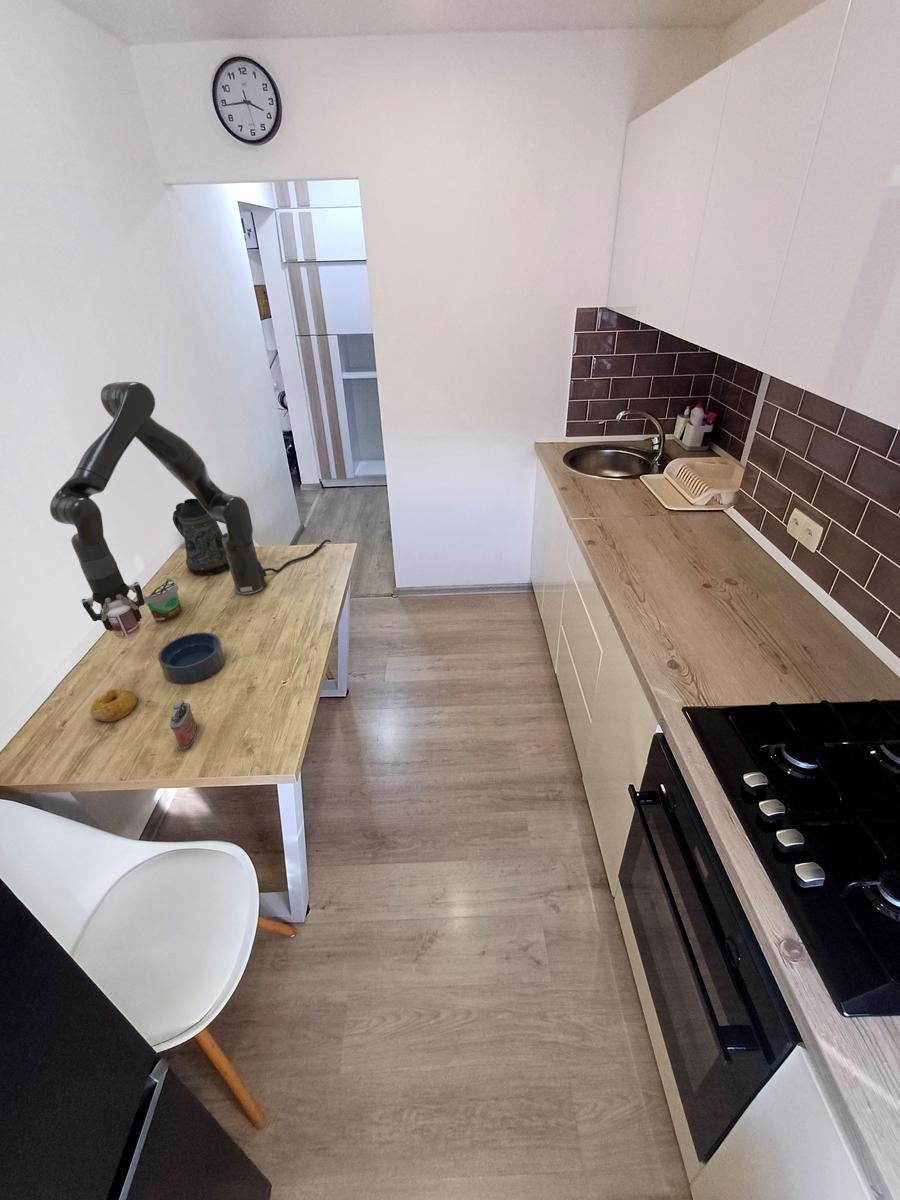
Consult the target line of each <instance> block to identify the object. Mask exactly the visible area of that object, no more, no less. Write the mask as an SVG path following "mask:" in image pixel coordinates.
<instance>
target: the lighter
mask: <svg viewBox="0 0 900 1200" xmlns="http://www.w3.org/2000/svg"><path fill="white" fill-rule="evenodd" d="M191 707H192V706H191V704H190V703H189V702H185V701H184V699H182V698H181V699H178V700H177V701H176V704H174V705H173V706H172V713H171V715H170V717H169V718H170V721H169V727H170V730H172V732H173V735H174V736H175V739H176V742H177V744H178V749H179V750H180V751H181V752H185V751H188V750H190V749H191V748H192V747H193V745H194V744H195V741H196V740H197V737H198V735H199V730H200V729H199V725H198V723H197V722H196V720H195V717H194V714H193V711H192V709H191Z"/></svg>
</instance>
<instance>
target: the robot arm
mask: <svg viewBox="0 0 900 1200" xmlns="http://www.w3.org/2000/svg"><path fill="white" fill-rule="evenodd" d="M100 401H101V404H102V406H103V408H104V410H105V411H106V413H107V414H108V415H109V416H111V418H112V419H113V420H112V421H111V423H110V424H109V425H108V427H107V429H105V430H104V431H103V432H102V433H101V435H99V437H98V438H96V439H95V440H94V441H93V442H91V444H90V446H88V448H87V449H86V450H85V452H84V453H83V454H82V457H81V459H80V461H79V462H78V464H77V466H76V468H75V470H74V472H73V474H72V475H71V477H69V479H67V481H66V482H65V483H64V484H62V486H61V487H60V488H59V489H58V490H57V491H56V492H55V494H54V495H53V497H52V499H51V501H50V505H49V512H50V515H51V517H52V519H54V520H55V521H56V522H58V523H60V524H63V525H68V526H74V527H75V528H76V533H74V534H73V535H72V537H71V540H70V542H71V545H72V548H73V550H74V552H75V554H76V557H77V559H78V561H79V565H80V568H81V570H82V573H83V575H84V577H85V579H86V581H87V583H88V586H89V588H90V591H91V592H92V595H91V597H89V598H82V599H81V601H80V602H81V604H82V607H83V608H84V610H85V611H86V612H87V614H88V616H89V617H90V618H91V620H92V621H93V622H97V621H101V622H102V625H103V626H104V629H105V630H106V631H109V632H114V631H113V629H112V627H111V625H110V623H109V620H108V618H107V613H108V610H109V605H108V604H109V603H110V602H111V601H114V600H118V599H119V600H121V601H122V602H124V603H125V604H126V605H128V606H130V607H131V608H132V610H133V612H134V614H135V617H136V619H137V621H138V623H139V622H141V619H142V618H143V616H142V614H141V611H140V608H141V606H144V605H145V604H146V603H144V594H143V591H142V587H141V584H140V583H139V582H138V581H136V582H133V584H129V585H128V584H126V583H125V580H124V578H123V576H122V574H121V571H120V568H119V566H118V563H117V560H116V559H115V557H114V555H113V554H112V552H111V549H110V547H109V545H108V542H107V540H106V537H105V535H104V524H103V523H104V522H103V516H102V512H101V510H100V508H99V506H98V504H97V503H96V502H95V500H93V499H92V498H90V497H91V496H93V495H97V494H101V493H102V492H104V491H105V489H106V488H107V485H108V484H109V482H110V480H111V478H112V476H113V474H114V472H115V470H116V468H117V466H118V464H119V462H120V460H121V459H122V457H123V455H124V453H125V452H126V450H127V449H128V448H129V446H130V445H131V444H132V442H133V441H134V439H135V438H136V439H137V441H139V442H140V443H141V444H142V445H143V446H144V447H145V448H146V449H147V450H148V451H149V452H150V453H151V454H152V455H153V456H154V457H155V458H156V459H157V460H158V461H159V462H160V464H162V465H163V468H165V469H166V470H167V471H168V473H170V474H171V475H172V476H173V477H174V478H175V479H176V480H177V481H178V482H179V483H180V484H181V485H182V486H183V487H184V488H185V489H187V491H188V492H189V493H190V494H192V495H193V496H194V498H195V499H197V500H198V501H199V502H200V504H201V505H202V506H203V507H204V509H205V510H206V511H207V513H208V514H209V515H210V516H211V517H212V518H213V519H214V520H216V521H217V523H220V524H225V527H226V532H225V533H223V536H222V543H223V546H224V550H225V553H226V557H227V560H228V564H229V567H230V568H229V570H230V571H229V572H230V574H231V577H232V581H233V585H234V589H235V593H236V594H238V595H240V596H249V595H255V594H257V593H259V592H261V591H263V589H265V588H267V583H266V579H265V577H267V572H268V571H273V572H274V573H280V572H281V571H283V570H284V569H285V568H286V567H287V566H288V565H290V564H291V563H294V562H297V561H301V560H304V559H308V558H309V557H311V556H313V555H314V554H315V553H316V552H317V551H318V550H319V549H320V548H322V547H323V546H324V545H325V544H326V543H331V542H332V540H331V539H325V540H323V541H322V542H321V543H320V544H319V545H318V546H319V547H318V546H316V547H315V548H314V549H313V550H312V551H311V552H310V553H308V554H306V555H303V556H300V557H297V558H293V559H290V560H289V561H287V562H285V563H284V564H283V565H282V566H281V567H280V568H278V569H275V568H273V567H267V568H264V567H263V566H262V564H261V562H260V560H259V559H258V554H257V551H256V547H255V543H254V539H253V532H254V529H253V528H254V527H253V523H252V517H251V512H250V508H249V505H248V503H247V501H246V500H245V499H244V498H243V497H241V496H238V495H233V494H230V493H227V492H224V491H223V490H222V489H220V488H219V486H217V485H216V484H215V482H214V481H213V480H212V479H211V478H210V476H209V473H208V469H207V466H206V464H205V461H204V460H203V458H202V457H201V456H200V455H199V453H198V452H197V451H196V450H195V449H194V448H193V447H192V445H191V444H190V443H188V442H187V441H186V440H185V439H183V438H182V437H181V436H180V435H178V434H176V433H174V432H173V431H171V430H170V429H168V428H166V427H165V426H163V425H161V424H160V423H158V422H157V421H156V420H155V419H153V417H151V416H152V415H153V413H154V411H155V408H156V399H155V395H154V393H153V391H152V390H151V388H150V387H148V386H147V385H146V384H144V383H143V382H138V381H116V382H111V383H107V384H106V385H104V386H103V387H102V389H101V391H100ZM130 591H132V593H134V594H135V595H136V599H137V600H133V599H131V598H130V597H129V596H128V595H129V592H130ZM94 602H95V603H97V604H99V605H100V611H99V613H96V612H95V610H94V609H93V606H94Z"/></svg>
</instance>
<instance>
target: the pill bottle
mask: <svg viewBox="0 0 900 1200" xmlns="http://www.w3.org/2000/svg"><path fill="white" fill-rule="evenodd" d="M108 605H109V610H108V613H107V618H108V620H109V623H110V625H111V627H112V629H113V631H112V632H113V634H114V635H115V637H116V638H117V639H120V640H126V639H129V638H132V637H134V636H136V635H137V634H139V633H140V631H141V626H140V623H139V622H138V621H137V619H136V617H135V614H134V612H133V610H132V608H131V607H130V606H128V605H126V604H125V603H124V602H122V601H121V600H119V599H118V600H114V601H111V602H110V603H109V604H108Z"/></svg>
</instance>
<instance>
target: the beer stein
mask: <svg viewBox="0 0 900 1200" xmlns="http://www.w3.org/2000/svg"><path fill="white" fill-rule="evenodd" d="M172 514H173V515H172V522H173V525H174V527H175V528H176V530H177V532H178V533H179V534H180V535H181V536H182V537H183V539H184V545H185V553H186V554H185V555H186V557H185V558H186V559H185V564H186V567H187V568H188V570H189V572H190V573H191V574H192V575H194V576H199V577H208V576H209V577H210V576H215V575H219V574H222V573H224V572H226V571H228V570H230V567H229V564H228V560H227V557H226V553H225V550H224V546H223V543H222V536H223V535H224V533H223V532H222V530H221V528H220V526H219V522H218V521H216V520H214V519H213V518H212V517H211V516H210V515H209V514H208V513H207V511H206V510H205V509H204V507H203V506H202V505H201V504H200V502H199V501H198V500H197V498H186V499H184V501H183V502H179V503H177V504H176V506H175V510H174V511H173V512H172Z"/></svg>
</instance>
